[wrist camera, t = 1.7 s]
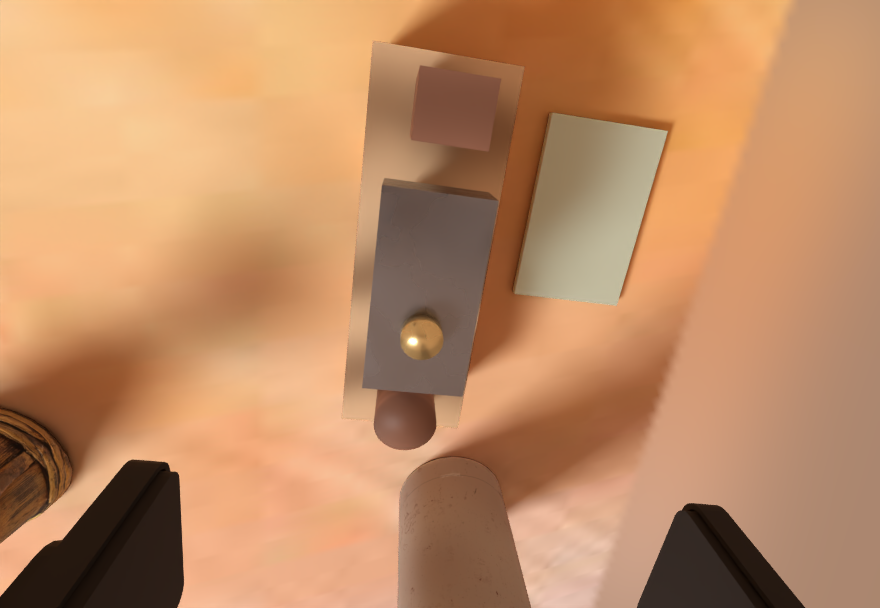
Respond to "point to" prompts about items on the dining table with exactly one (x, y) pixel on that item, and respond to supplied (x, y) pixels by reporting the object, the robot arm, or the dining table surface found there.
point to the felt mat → (586, 208)
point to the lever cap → (426, 286)
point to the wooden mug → (28, 471)
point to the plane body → (432, 162)
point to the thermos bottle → (456, 540)
